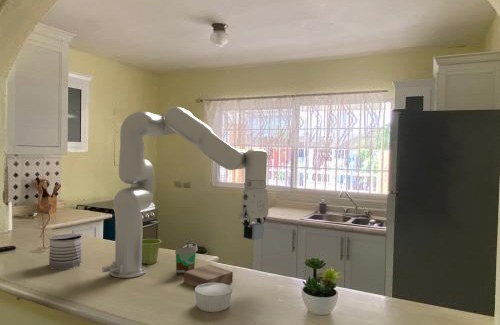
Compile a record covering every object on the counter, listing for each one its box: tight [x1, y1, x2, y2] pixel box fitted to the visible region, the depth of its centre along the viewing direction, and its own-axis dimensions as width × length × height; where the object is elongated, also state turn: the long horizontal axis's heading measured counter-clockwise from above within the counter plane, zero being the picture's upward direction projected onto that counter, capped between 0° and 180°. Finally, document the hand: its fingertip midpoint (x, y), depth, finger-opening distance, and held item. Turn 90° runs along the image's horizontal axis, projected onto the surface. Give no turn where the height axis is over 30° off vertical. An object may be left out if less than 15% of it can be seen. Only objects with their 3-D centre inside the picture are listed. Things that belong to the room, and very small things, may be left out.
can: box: [48, 232, 83, 271], centre depth 146 cm, size 11×11×12 cm
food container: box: [174, 241, 199, 275], centre depth 143 cm, size 12×6×10 cm, turn 168°
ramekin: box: [194, 283, 233, 313], centre depth 111 cm, size 11×11×5 cm
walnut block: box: [183, 264, 234, 288], centre depth 131 cm, size 12×12×4 cm
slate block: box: [242, 221, 265, 241], centre depth 131 cm, size 5×5×5 cm
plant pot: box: [142, 238, 162, 265], centre depth 153 cm, size 9×9×9 cm
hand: (253, 236), depth 131 cm, fingers closed on slate block, 5 cm apart
